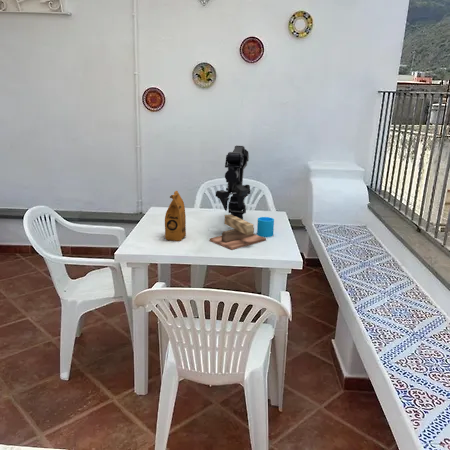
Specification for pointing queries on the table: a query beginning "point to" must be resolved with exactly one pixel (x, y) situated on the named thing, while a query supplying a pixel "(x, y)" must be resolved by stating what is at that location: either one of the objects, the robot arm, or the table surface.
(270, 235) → the mug
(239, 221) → the oak bar
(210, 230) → the table surface
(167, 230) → the coffee package
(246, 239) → the fulcrum stand
